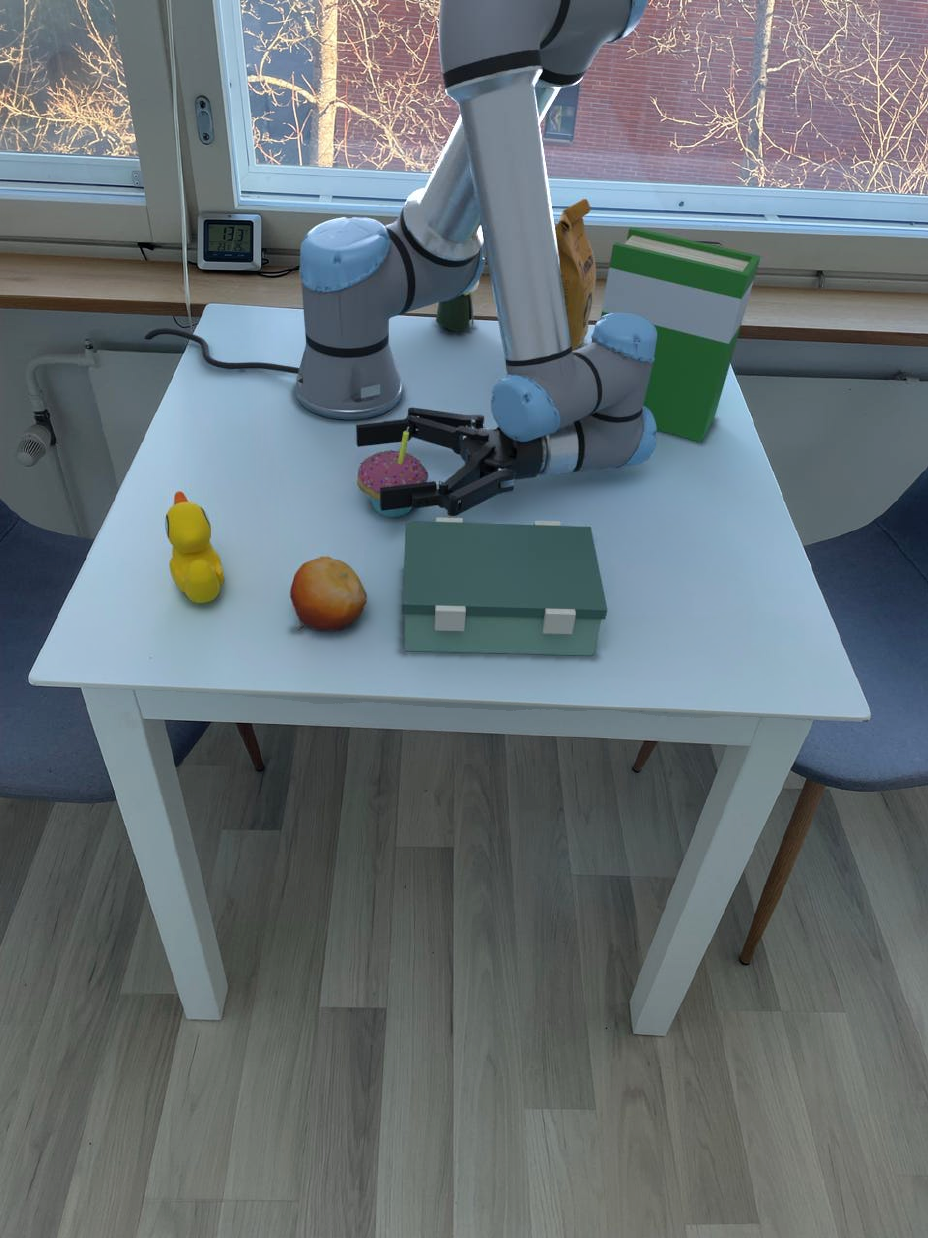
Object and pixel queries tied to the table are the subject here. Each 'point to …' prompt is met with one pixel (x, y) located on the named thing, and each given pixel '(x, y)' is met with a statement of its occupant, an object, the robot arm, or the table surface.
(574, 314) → the coffee package
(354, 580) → the fruit
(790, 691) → the table surface
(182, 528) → the duckling
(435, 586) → the lunchbox
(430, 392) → the table surface
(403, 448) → the cupcake
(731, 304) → the hardback book
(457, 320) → the character mug
